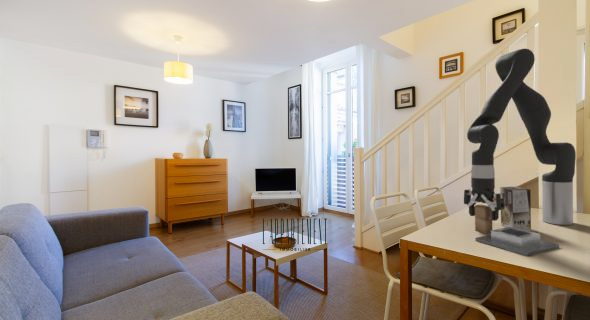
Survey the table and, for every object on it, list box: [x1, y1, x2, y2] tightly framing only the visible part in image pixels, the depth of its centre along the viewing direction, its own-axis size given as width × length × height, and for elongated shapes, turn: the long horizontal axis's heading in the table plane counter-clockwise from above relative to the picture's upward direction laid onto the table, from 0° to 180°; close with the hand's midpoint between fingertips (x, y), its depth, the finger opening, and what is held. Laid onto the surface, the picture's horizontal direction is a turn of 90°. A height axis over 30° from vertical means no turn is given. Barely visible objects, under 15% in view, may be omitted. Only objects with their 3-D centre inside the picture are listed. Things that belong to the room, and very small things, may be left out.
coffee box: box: [499, 186, 532, 232], centre depth 109 cm, size 9×6×16 cm
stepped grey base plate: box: [474, 227, 560, 257], centre depth 92 cm, size 16×16×4 cm
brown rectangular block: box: [474, 203, 494, 234], centre depth 107 cm, size 4×4×10 cm
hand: (483, 217), depth 107 cm, fingers open, 8 cm apart
